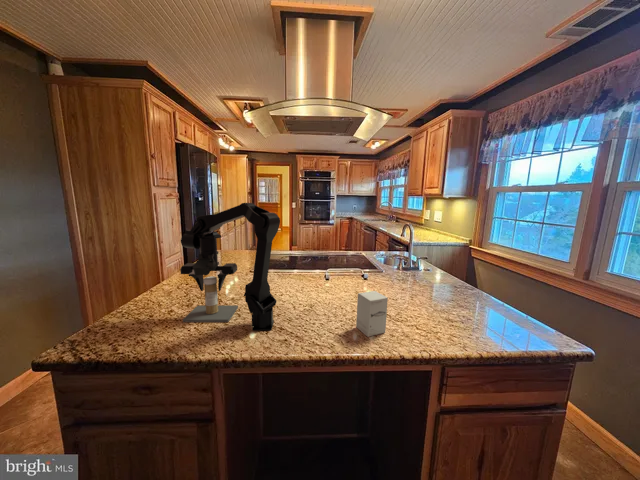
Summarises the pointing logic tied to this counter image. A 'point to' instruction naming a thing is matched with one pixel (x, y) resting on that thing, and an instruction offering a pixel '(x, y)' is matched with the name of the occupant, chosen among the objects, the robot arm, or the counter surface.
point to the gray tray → (201, 316)
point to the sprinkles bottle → (211, 294)
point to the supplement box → (371, 313)
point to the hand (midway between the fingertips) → (210, 290)
